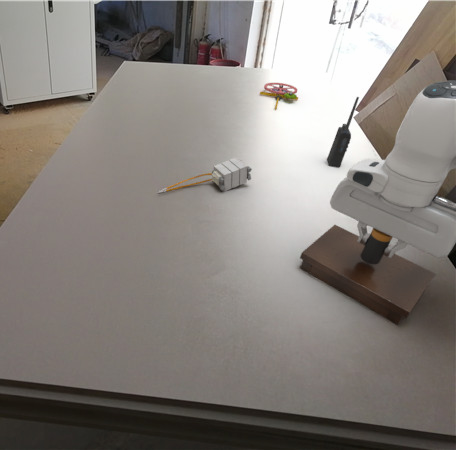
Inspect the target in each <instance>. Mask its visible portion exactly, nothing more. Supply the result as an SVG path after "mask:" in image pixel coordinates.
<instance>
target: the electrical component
mask: <svg viewBox="0 0 456 450" xmlns="http://www.w3.org/2000/svg"><path fill="white" fill-rule="evenodd" d="M252 170H253V169H252V167H250V166H249V165H246V164H245V163H244V162H242V160H240V159H239V158H238V157H233V158H230V159H228V160H225V161H222V162H220V163H217V164H215V165H213V170H212V171H211V172H207V173H203V174H199V175H196V176H193V177H189V178H186V179H183V180H182V181H179V182H177V183H174V184H172V185H170V186H166V187H165V188H162V189H161V190H159V191H157V194H160V193H165V192H171V191H175V190H178V189H184V188H186V187H191V186H195V185H199V184H203V183H207V182H212V183H215V184H216V185H217V186H218V188H219V189H220V190H221V191H224V192H226V191H229V190H231V189H234V188H237V187H238V186H241V185H243V184H247V182H248V181H250V180H252V175H251V171H252ZM204 176H212V177H211V178H208V179H206V180H205V179H204V180H200V181H197V182H193V183H189V184H185V185H181V184H183V183H185V182H187V181H190V180H193V179H196V178H197V179H198V178H200V177H204ZM178 185H181V186H178ZM175 186H177V187H175Z"/></svg>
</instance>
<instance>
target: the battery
mask: <svg viewBox="0 0 456 450" xmlns="http://www.w3.org/2000/svg"><path fill="white" fill-rule="evenodd" d="M369 234H370V236H369V238H368V240H367V242H366V244H365V246H364V248H363V251H362V253H361V255H360V256H361V258H362V260H363V261H365V262H367V263H369V264H378V263H379V262H380V260H381V258H382V257H383V252H384V251H385V249H386V247H387V246H388V245H389V244H391V241H392V239H393V238H394V237H392V236H390V235H387V234H385V233H383V232H381V231H379V230H377V229H375V228H372V230H371V232H370V233H369Z"/></svg>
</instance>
